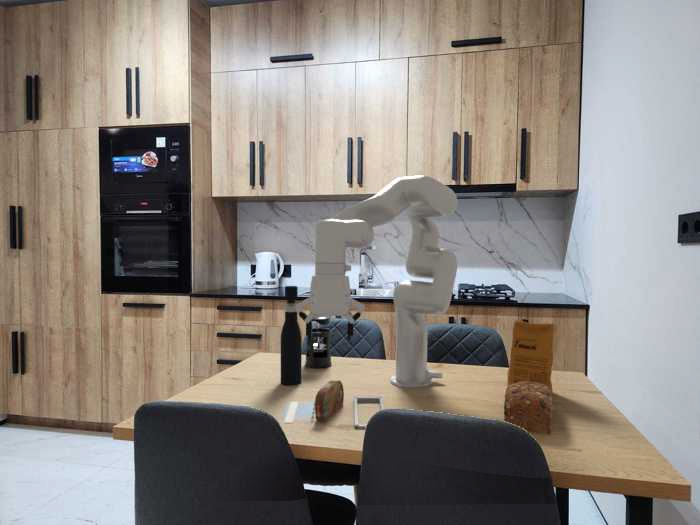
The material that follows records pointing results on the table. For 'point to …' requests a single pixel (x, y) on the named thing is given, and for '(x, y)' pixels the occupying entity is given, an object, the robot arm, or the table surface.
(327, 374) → the table surface
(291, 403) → the ticket board
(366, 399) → the tray
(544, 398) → the bread
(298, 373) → the black water bottle
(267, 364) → the table surface
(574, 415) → the table surface
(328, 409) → the tin
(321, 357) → the french press
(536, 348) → the coffee package
